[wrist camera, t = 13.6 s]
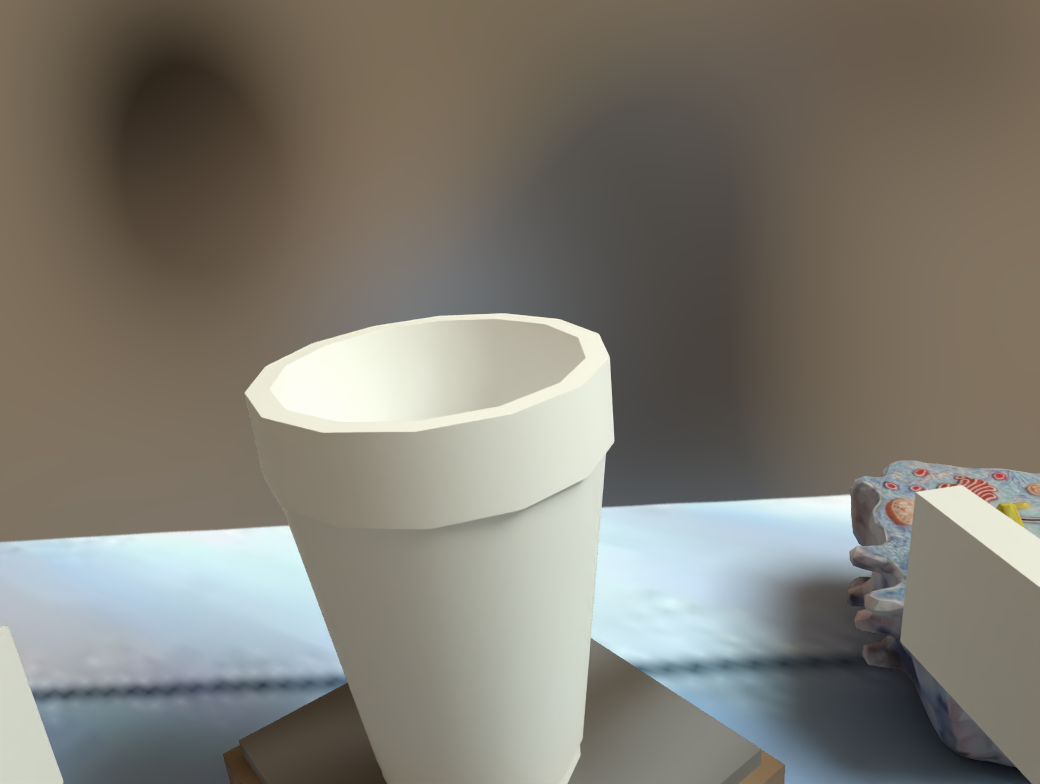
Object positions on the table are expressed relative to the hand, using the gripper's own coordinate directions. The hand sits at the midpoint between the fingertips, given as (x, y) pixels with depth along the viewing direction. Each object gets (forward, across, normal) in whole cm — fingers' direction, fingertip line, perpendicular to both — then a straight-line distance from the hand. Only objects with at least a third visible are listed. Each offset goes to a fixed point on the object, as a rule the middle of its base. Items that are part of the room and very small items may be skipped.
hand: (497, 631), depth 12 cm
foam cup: (+11, 0, -12) cm, 16 cm away
